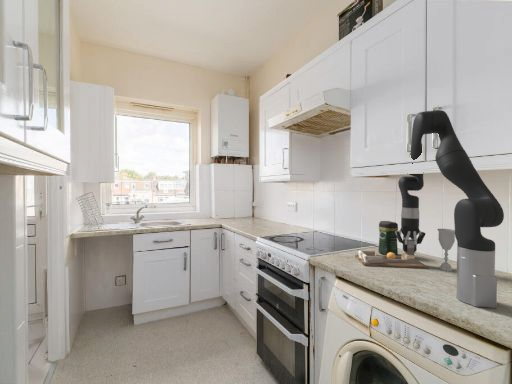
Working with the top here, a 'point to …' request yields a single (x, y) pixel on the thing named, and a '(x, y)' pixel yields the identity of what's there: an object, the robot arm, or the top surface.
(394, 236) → the coffee jar
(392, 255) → the ball
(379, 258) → the board
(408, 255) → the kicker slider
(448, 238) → the chalice
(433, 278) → the top surface
